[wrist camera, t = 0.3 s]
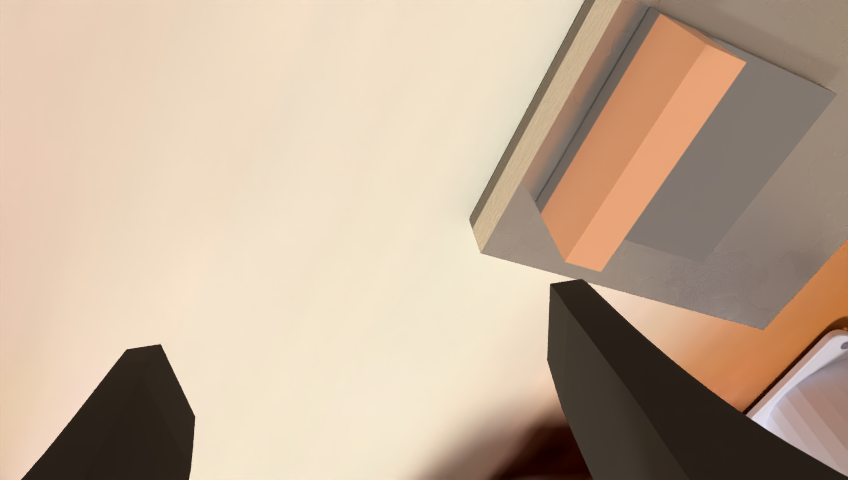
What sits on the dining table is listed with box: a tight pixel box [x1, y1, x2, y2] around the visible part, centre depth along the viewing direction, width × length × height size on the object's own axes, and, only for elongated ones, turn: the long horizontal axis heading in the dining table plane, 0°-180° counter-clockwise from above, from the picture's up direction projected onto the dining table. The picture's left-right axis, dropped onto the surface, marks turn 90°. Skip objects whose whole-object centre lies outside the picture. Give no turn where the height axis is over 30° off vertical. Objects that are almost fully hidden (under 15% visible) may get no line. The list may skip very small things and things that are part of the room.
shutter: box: [535, 7, 837, 272], centre depth 18 cm, size 6×6×3 cm
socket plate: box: [469, 0, 848, 330], centre depth 21 cm, size 12×11×2 cm
